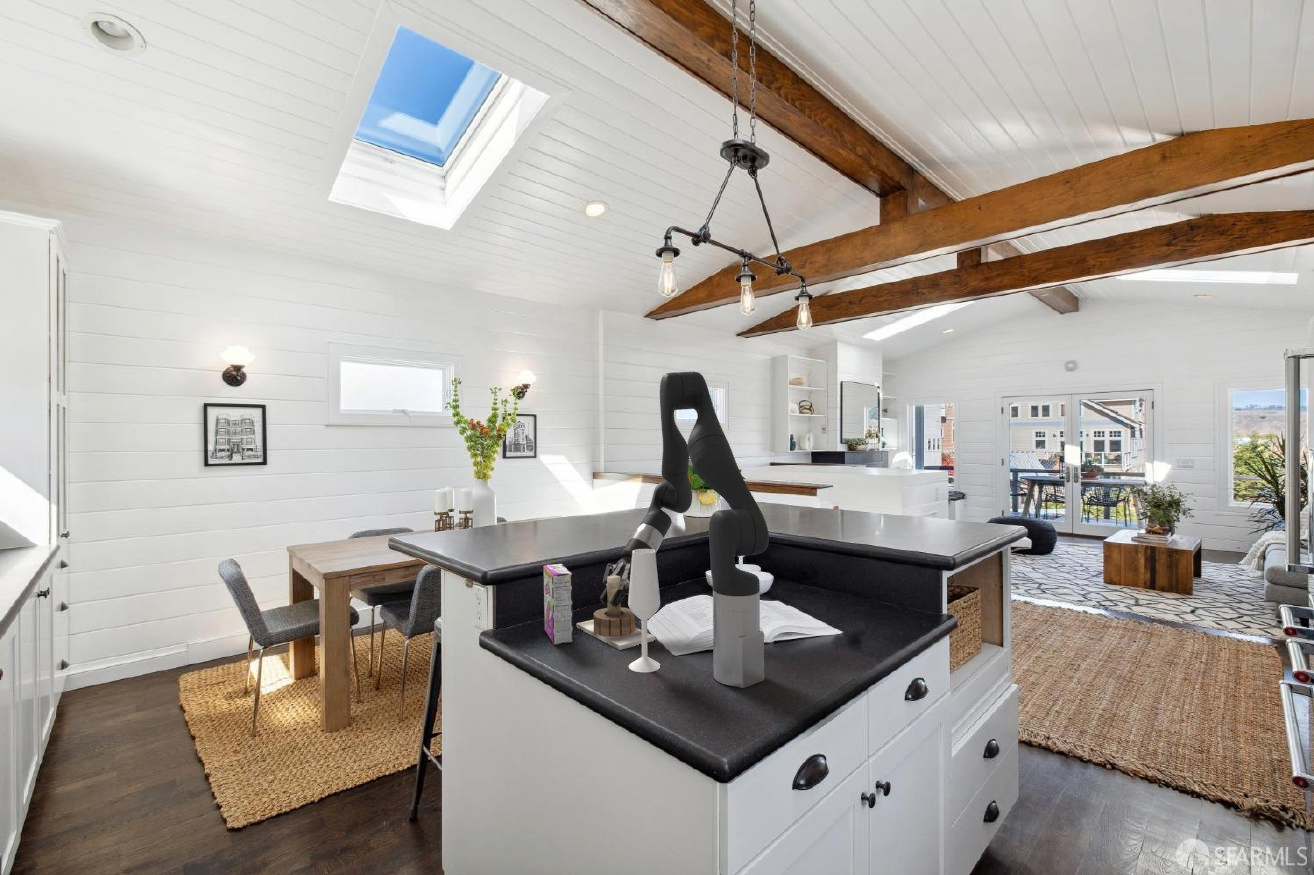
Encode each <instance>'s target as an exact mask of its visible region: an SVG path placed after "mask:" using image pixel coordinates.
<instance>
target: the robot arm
mask: <svg viewBox="0 0 1314 875" xmlns="http://www.w3.org/2000/svg"><path fill="white" fill-rule="evenodd" d="M659 406H660V409H659V410H660V422H661V434H662V457H661V476H662V478H663V479H664V481H661V482H659V483H658V484H657V485H656V486H655V488H654V491H653V494H652V498H651V501H650V503H649V507H648V510H647V512H646V514H645V516H644V517H643V519H642V521H641V522H640V524H639V525H638V527H637V528H636V529H635V531H634V532H633V533H632V535H631V536H630V539H629V540H628V541H627V543H626V544H625V546H624V548H623V549H622V552H621V558H620V559H619V560H618V561H617V562H616V564H615V563H614V564H612V563H611V562H610V563H607V565H606V568H605V571H604V575H603V579H602V583H603V584H604V586H605V588H604V589H603V591H602V593H601V595H600V597H599V601H600V602H601V603H602V604H603V605H607V577H608V576H614V575H615V576H620V587H619V590H617V591H616V593H615V594H614V596H613V598H612V599H611V601H610V603H611V605H612V606H613V607H617V606H618V605H619V604H620V603H621V602H622V601H623V599H624V597H625V596H627V595H629V587H630V575H631V563H632V551H633V550H637V549H652V550H655V554H656V553H657V552H658V550H659V548H660V546H661V544H662V542H663V539H664V538H665V536H666V535H667V533H668V531H669V530H670V528H671V525H672V524H673V521H672V519H671V518H672V517H670V515H669V514H668V513H666V512H665V511H664V510H663V508H664V509H665V510H669V511H671V512H674V513H677V514H684V513H686V512H687V511H689V509H690V507H691V505H692V503H693V492H692V488H691V481H690V477H689V466H690V462H691V464H692V467H693V470H694V472H695V473H696V476H698V478H700V480H701V481H703V483H704V484H706V485H707V486H708V487H709V488H710V489H712V490H713V491H714V492H716V493H717V494H718V495H719V496H720V497H722V499H724V501H725V502H726V503H727V504H728V506H729V508H730V509H721V510H719V509H718V510H716V511H714V512H713V513H712V514H711V517H710V519H709V524H708V541H709V554H710V555H709V556H710V557H709V558H710V574H711V580H712V634H713V635H712V643H713V644H712V650H713V651H712V652H713V654H712V655H713V656H712V658H713V659H712V660H713V668H712V669H713V679H715V680H716V681H717V682H718V683H721V684H722V685H727V686H731V687H738V688H741V689H744V688H747V687H750V686H752V685H756V684H758V683H760V682H764V681H765V633H764V631H763V630H761V618H760V617H761V613H760V612H761V611H760V610H761V609H760V608H761V607H760V606H761V600H760V598H761V594H760V593H761V592H760V591H761V590H760V588H761V587H760V586H761V585H760V583H761V582H760V579H759V576H758V575H757V574H754V573H752V572H749V571H746V570H742V569H740V568H738V567H737V566H736V561H735V557H744V556H755V555H760V554H762V553H764V552H765V551H766V550H767V548H768V547H769V542H770V541H769V540H770V535H769V528H768V525H767V521H766V519H765V516H764V514H763V513H762V510H761V508H760V507H759V504H758V503H757V501H756V500H755V497H754V496H753V494H752V492H751V490H750V489H749V487H748V485H747V483H746V482H745V479H744V477H743V475H742V473H741V470H740V468H739V466H738V463H737V462H736V458H735V456H734V453H733V449H732V448H731V445H730V443H729V441H728V438H727V436H726V433H724V430H723V428H722V426H721V424H720V421H719V419H718V416H717V413H716V410H715V408H714V404H713V399H712V397H711V395H710V391H709V387H708V385H707V382H706V379H705V377H704V376H703V374H702V373H700V372H699V371H698V372H697V371H675V372H666V373H664V374H663V376H662V377H661V379H660V384H659ZM681 410H694V411H695V412H696V414H697V415H696V416H697V418H696V421H695V423H694V424H693V428H692V430H691V432H690V434H689V437H688V440H687V441H686V439H685V437H684V436H683V434H682V433H681V431H680V430H679V427H678V425H677V424H676V418H675V411H681Z"/></svg>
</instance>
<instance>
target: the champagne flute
mask: <svg viewBox="0 0 1314 875" xmlns="http://www.w3.org/2000/svg"><path fill="white" fill-rule="evenodd" d="M658 576H659V574H658V568H657V556H656V553H655V550H652V549H637V550H633V551H632V563H631V575H630V587H629V593H628V601H627V604H628V607H629V608H628V609H630V610H631V611H632V612H633V613H634V614H635V617H637V618H638V619H639V620H641V630H642V644H641V656H640V657H639V658H638V659H635V661H632V662H631V663H629V665H628V669H629V670H631V671H633V672H637V673H652V672H655V671H658V670H659V669H661V667H660V665H661V664H660V663H659V662H658V661H656V660H654V659H652V658H651V657H649V656H648V643H647V633H648V620H649V619H651V618H652V617H653V616H654V615H655V614H656V613H657V611H658V610H659V608H660V607H661V596H660V595H661V594H660V588H659V577H658Z"/></svg>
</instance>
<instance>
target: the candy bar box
mask: <svg viewBox="0 0 1314 875" xmlns="http://www.w3.org/2000/svg"><path fill="white" fill-rule="evenodd" d="M572 583H573V574H572V572H571V571H570V570H569V569H567V567H566V566H565V565H564V564H563V563H556V564H555V563H554V564H545V565H543V594H544V595H543V596H544V597H543V599H544V600H543V601H544V602H543V605H544V606H543V607H544V608H543V609H544V632H545V633H546V635H547V636H548V638H549V639H550V640H551V643H552V644H553V645H562V643H564V644H568V643H570V644H571V643H573V642H574V637H573V636H574V635H573V634H574V631H573V630H574V624H573V621H574V620H573V585H572Z"/></svg>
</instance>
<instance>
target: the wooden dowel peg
mask: <svg viewBox="0 0 1314 875" xmlns="http://www.w3.org/2000/svg"><path fill="white" fill-rule="evenodd" d="M619 587H620V576H615V575H614V576H608V577H607V604H606V605H607V607H606V608H608V616H621V607H622V606H621V605H622V604H621V603H620V604H619V605H618V606H617V607H613V606H612V605H611V603H610V601H611V599H612V598H613V596H614V594H615V593H616V591H617V590H619Z"/></svg>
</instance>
